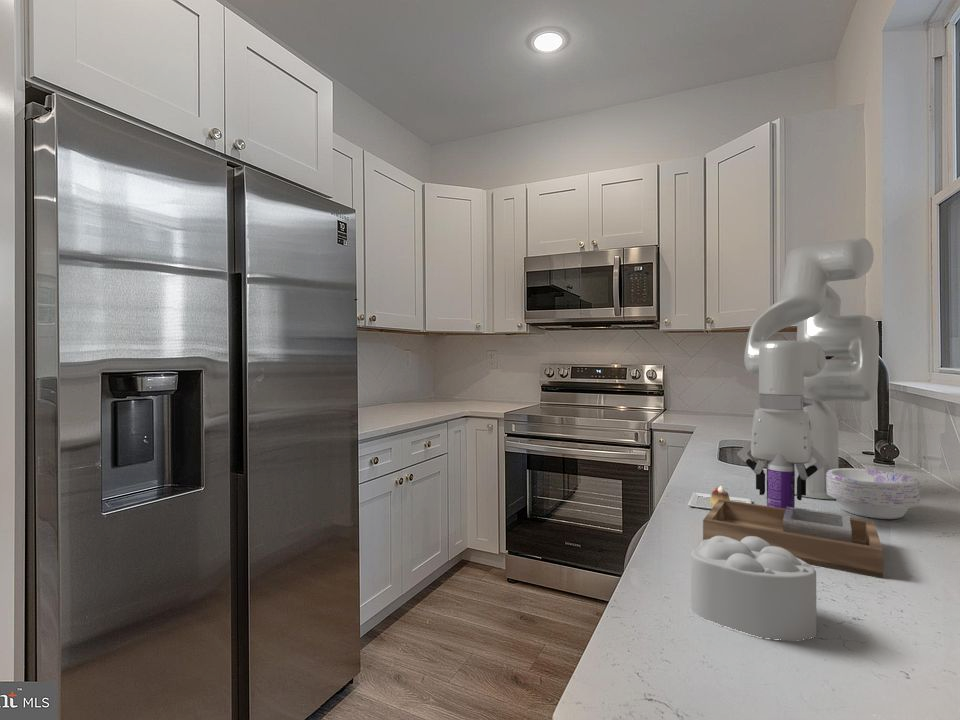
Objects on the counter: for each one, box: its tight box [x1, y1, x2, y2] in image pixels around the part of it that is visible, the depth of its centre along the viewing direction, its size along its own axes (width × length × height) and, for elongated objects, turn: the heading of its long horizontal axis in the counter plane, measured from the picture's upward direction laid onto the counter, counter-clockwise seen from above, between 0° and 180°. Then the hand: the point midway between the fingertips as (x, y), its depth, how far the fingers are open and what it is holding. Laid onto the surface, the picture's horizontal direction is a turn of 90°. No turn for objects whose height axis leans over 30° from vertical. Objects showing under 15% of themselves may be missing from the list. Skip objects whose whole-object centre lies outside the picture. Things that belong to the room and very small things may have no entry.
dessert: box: [687, 485, 753, 511], centre depth 109 cm, size 12×12×5 cm
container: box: [766, 454, 796, 509], centre depth 98 cm, size 5×5×15 cm
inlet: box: [783, 507, 852, 543], centre depth 83 cm, size 9×9×4 cm
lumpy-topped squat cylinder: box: [690, 536, 817, 641], centre depth 61 cm, size 10×13×9 cm
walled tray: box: [702, 499, 884, 579], centre depth 86 cm, size 16×24×4 cm, turn 56°
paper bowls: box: [826, 467, 921, 520], centre depth 104 cm, size 15×15×8 cm
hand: (780, 495), depth 98 cm, fingers open, 5 cm apart
